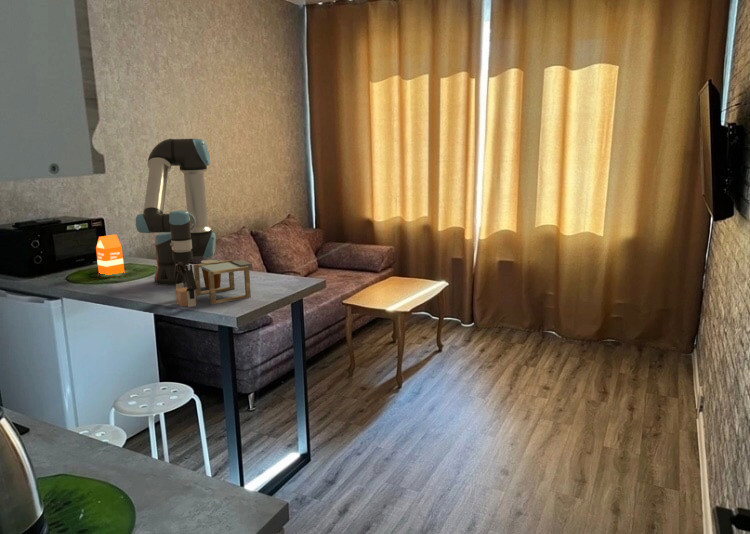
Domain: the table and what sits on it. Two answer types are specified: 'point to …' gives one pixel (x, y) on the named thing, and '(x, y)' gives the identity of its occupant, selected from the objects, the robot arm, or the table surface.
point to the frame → (213, 290)
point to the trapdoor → (227, 265)
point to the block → (182, 296)
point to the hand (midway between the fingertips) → (186, 302)
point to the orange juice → (109, 255)
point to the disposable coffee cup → (216, 276)
